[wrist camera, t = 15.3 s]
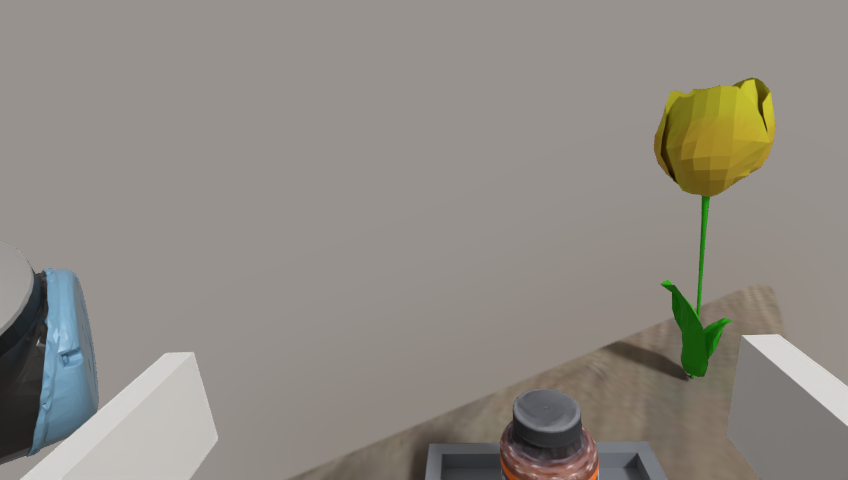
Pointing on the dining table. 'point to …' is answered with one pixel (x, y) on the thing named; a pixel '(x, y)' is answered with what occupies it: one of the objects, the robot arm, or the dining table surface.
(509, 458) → the supplement bottle
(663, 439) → the dining table surface
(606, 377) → the dining table surface
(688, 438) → the dining table surface
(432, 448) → the tray
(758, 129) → the flower
